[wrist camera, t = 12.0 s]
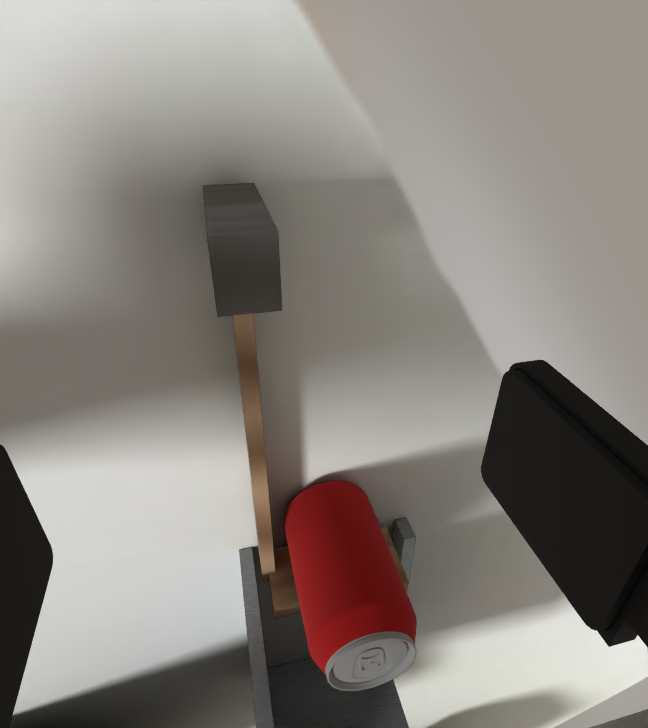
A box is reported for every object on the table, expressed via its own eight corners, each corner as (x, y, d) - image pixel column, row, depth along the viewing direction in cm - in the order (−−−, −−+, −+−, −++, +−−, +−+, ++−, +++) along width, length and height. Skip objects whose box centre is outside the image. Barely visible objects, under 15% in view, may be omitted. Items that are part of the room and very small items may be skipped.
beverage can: (288, 543, 38) (320, 709, 29) (275, 485, 35) (307, 653, 25) (368, 522, 39) (426, 676, 29) (364, 463, 36) (429, 617, 26)
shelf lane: (239, 549, 37) (269, 874, 22) (406, 517, 40) (533, 788, 25) (257, 676, 48) (286, 953, 33) (388, 643, 51) (470, 886, 36)
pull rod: (202, 185, 23) (207, 236, 16) (424, 175, 25) (508, 216, 18) (251, 561, 38) (263, 666, 31) (385, 535, 40) (423, 628, 33)
